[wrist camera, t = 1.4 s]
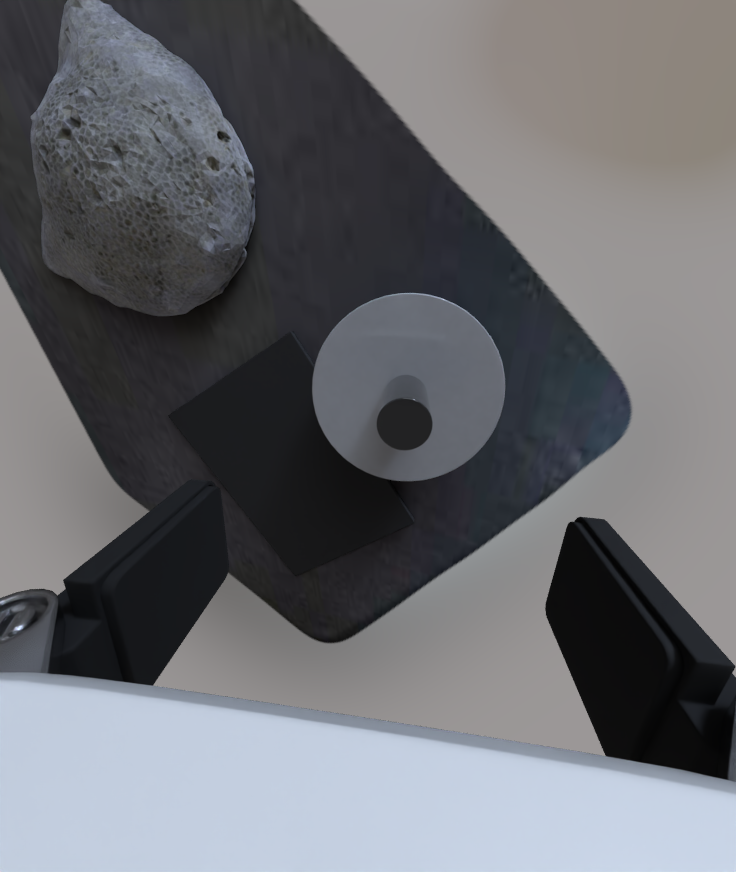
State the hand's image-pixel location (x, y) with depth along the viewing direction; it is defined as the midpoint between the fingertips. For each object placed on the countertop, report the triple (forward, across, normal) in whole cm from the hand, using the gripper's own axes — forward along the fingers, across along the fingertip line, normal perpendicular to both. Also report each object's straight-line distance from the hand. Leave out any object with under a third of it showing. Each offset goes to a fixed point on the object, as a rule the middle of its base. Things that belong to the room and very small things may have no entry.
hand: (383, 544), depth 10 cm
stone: (+21, +19, -12) cm, 31 cm away
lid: (+14, 0, -1) cm, 14 cm away
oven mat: (+21, +9, +9) cm, 25 cm away
